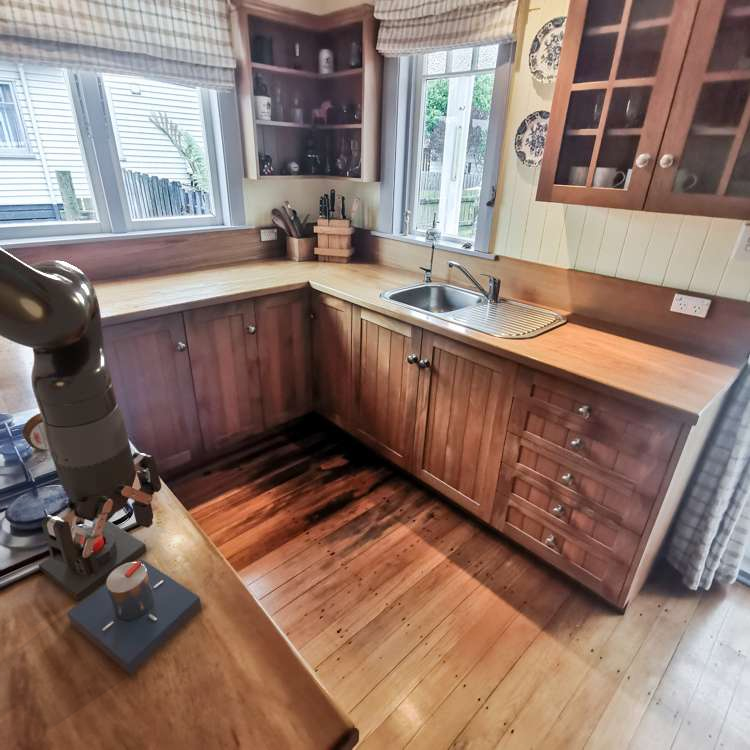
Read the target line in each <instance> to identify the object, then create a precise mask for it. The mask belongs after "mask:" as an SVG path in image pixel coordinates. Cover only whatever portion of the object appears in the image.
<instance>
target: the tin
mask: <svg viewBox="0 0 750 750" xmlns="http://www.w3.org/2000/svg"><path fill="white" fill-rule="evenodd" d="M22 436H23V438H24V440H25V442H26V443H27V444H28V445H29V446H30V447H31V448H33V449H34V450H37V451H42V452H45V451H48V450H50V449H49V446H48V443H47V440H46V436H45V429H44V423H43V419H42V416H41V413H37V414H35V415H33V416H32V417H31V418H29V419H28V420H27V421H26V423H25V424H24V426H23V428H22Z"/></svg>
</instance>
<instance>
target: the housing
mask: <svg viewBox="0 0 750 750" xmlns="http://www.w3.org/2000/svg"><path fill="white" fill-rule="evenodd" d="M102 537H103V540H104V546H103V548H102V549H101V550H100V551H98V552H97V553H95V556H96V559H97V562H98V565H99V568H100V573H99V574H98V575H97V576H96V577H93V576H89V577H88V576H86V575H84V574H81V573H79V572H78V571H77V568H76V565H75V563H74V564H73V565H71V566H68V565H66V564H63V563H61V562H58V561H56V560H54V559H52V558H51V556H49V557H48V558H46V559H45V560H43V561H41V562H40V563H39V564H38V567H39V569H40V572H41V573H42V574H44V575H45V577H47V578H48V579H50V581H52V582H53V583H54V584H56V585H57V586H58V587H59V588H61V589H62V590H63V591H64V592H66V593H67V594H68V595H69V596H71V597H72V598H73V599H74V600H76V601H77V602H80V603H81V602H82V601H83V600H85V599H86V598H87V597H89V596H90V595H91V594H93V593H94V592H95V591H97V590H98V588H101V587H102V586H103V584H104V585H105V584H106V581H107V578H108V576H109V575H110V573H111V572H112V571H113V570H115V569H116V568H117V567H119V566H121V565H123V564H126V563H130V562H135V561H137V560H138V559H139V558H141V556H142V555H143V554H145V553H146V552H147V551H148V550H147V549H148V548H147V545H146V543H145V542H143V541H141V540H140V539H138V538H136V537H135V536H133V535H132V534H130V533H128V532H127V531H125V530H124V529H122V528H121V527H119V526H118V525H116V524H115V523H113V522H111V521H110V520H108V521H107V522H105V524H104V527H103V530H102Z"/></svg>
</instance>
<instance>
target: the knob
mask: <svg viewBox="0 0 750 750" xmlns="http://www.w3.org/2000/svg"><path fill="white" fill-rule="evenodd" d="M136 561H137V560H136ZM136 561H133V562H130V563H126V564H123V565H121V566H119V567H117V568H116V569H115V570H113V571H112V572H111V573H110V575H109V576H108V578H107V581H106V582H105V584H106V586H107V589H108V593H109V596H110V599H111V602H112V605H113V608H114V611H115V614H116V616H117V617H118V618H120V619H122V620H132V619H136V618H138V617H140V616H142V615H143V614H145V613H146V612H147V611H148V610H149V609H150V607H151V606H152V604H153V600H154V597H153V593H152V589H151V585H150V582H149V578H148V574H147V570H146V567H145V566H144V565H143V564H141V562H139V561H137V562H136Z"/></svg>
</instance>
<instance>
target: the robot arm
mask: <svg viewBox="0 0 750 750" xmlns="http://www.w3.org/2000/svg"><path fill="white" fill-rule="evenodd" d="M0 336H1V337H2V338H4V339H6V340H9V341H10V342H13V343H16V344H18V345H20V346H24V347H26V348H31V349H32V352H33V353H32V354H33V364H32V370H31V376H30V379H31V387H32V392H33V395H34V398H35V401H36V403H37V406H38V410H39V412H40V413H41V416H42V419H43V423H44V429H45V436H46V440H47V443H48V446H49V449H48V450H49V453H50V457H51V458H52V461H53V465H54V467H55V470H56V474H57V476H58V479H59V482H60V484H61V485H60V486H61V488H62V489H63V491H64V493H65V494H66V496H67V505H66V509H64V510H62V511H61V512H60V513H58V514H57V515H55V516H54V515H51V514H47V515H45V516H44V517H43V518H42V520H41V527H42V530H43V534H44V537H45V541H46V544H47V548H48V551H49V554H50V557H51V558H52V559H54V560H56V561H58V562H61V563H63V564H66V565H68V566H71V565H73V564H74V563H75V565H76V568H77V571H78V572H79V573H81V574H84V575H86V576H88V577H89V576H93V577H96V576H97V575H98V574H99V573H100V568H99V565H98V562H97V559H96V556H95V553H94V551H92V550H93V547H94V544H95V541H96V538H97V537H99V536H100V535H101V534H102V530H103V527H104V524H105V522H107V521H110V520H111V519H112V518H113V516H114V515H115V514H116V513H118V512H119V511H121V510H122V509H125V507H126V506H127V503H128V501H129V499H130V500H133V501H132V502H131V508H132V511H133V516H134V519H135V523H136V524H137V525H138V526H139V527H144V528H147V529H149V528H150V527H151V526H152V525H153V524H154V521H153V519H154V512H153V511H154V510H153V507H152V501H153V495H154V494H155V493H159V492H160V491H161V489H162V482H161V478H160V475H159V471H158V468H157V465H156V461H155V458H154V456H152V455H149V454H147V453H144V452H139V451H135V452H134V453H133V452H132V448H131V443H130V440H129V436H128V432H127V427H126V423H125V420H124V416H123V414H122V411H121V409H120V407H119V403H118V401H117V396H116V392H115V389H114V384H113V380H112V377H111V373H110V371H109V368H108V364H107V359H106V353H105V341H104V332H103V323H102V315H101V309H100V304H99V299H98V296H97V292H96V290H95V288H94V285H93V283H92V282H91V281H90V278H88V277H87V275H86V274H84V273H83V272H82V271H81V270H80V269H78V268H77V267H75V266H73V265H71V263H70V264H69V263H67V262H65V261H60V260H42V261H38V262H35V263H31V264H30V265H27V264H26V263H24V262H23V261H21V260H19V259H18V258H16V257H14V256H13V255H12V254H10V253H8V252H7V251H5V250H4V249H2V248H1V247H0ZM136 476H137V479H138V482H139V485H140V488H139V489H137V488H134V487H133V486H134V483H135V479H136ZM85 520H86V521H89V522H92V525H91V526H89V525H87V524H85ZM83 536H84V537H85V539H84V542H83V544H81V540H82V537H83Z"/></svg>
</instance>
